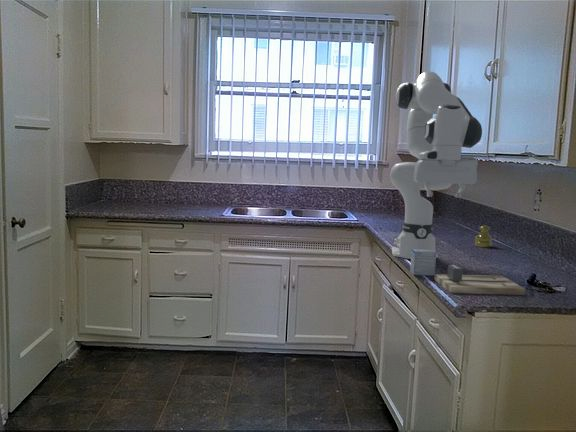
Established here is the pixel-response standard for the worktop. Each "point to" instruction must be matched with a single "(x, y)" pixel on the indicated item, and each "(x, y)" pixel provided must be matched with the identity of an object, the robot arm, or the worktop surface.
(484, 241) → the yellow lumpy upright piece
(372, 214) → the worktop surface
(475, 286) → the console
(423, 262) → the medicine box
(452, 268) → the fader knob
